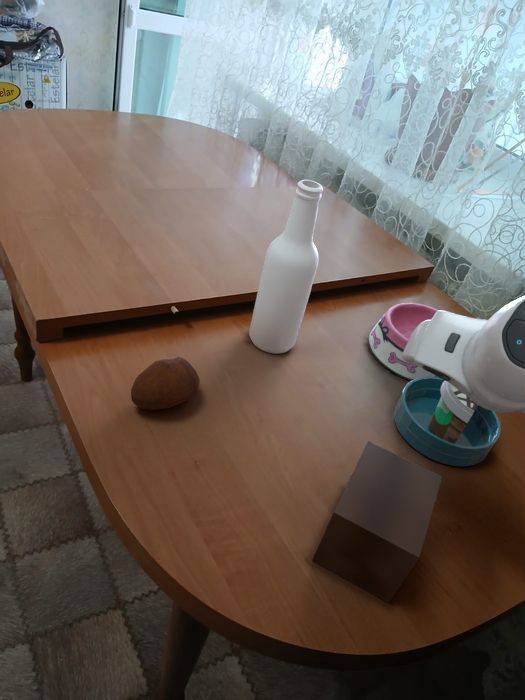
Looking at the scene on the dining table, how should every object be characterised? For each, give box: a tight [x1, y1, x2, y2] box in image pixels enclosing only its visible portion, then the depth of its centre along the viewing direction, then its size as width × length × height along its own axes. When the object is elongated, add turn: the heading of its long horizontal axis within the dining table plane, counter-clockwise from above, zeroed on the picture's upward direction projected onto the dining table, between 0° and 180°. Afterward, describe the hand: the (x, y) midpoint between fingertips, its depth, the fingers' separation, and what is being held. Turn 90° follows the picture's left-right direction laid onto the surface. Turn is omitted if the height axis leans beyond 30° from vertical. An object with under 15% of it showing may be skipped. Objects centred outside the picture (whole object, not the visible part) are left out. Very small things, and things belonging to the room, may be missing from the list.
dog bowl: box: [367, 302, 439, 382], centre depth 103 cm, size 18×19×7 cm
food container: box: [429, 381, 478, 444], centre depth 86 cm, size 12×6×10 cm, turn 144°
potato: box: [130, 356, 201, 411], centre depth 80 cm, size 8×12×8 cm, turn 138°
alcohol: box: [248, 179, 324, 354], centre depth 91 cm, size 9×9×30 cm
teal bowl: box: [393, 377, 502, 467], centre depth 88 cm, size 16×16×4 cm
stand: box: [312, 440, 443, 604], centre depth 67 cm, size 10×13×10 cm
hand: (477, 386), depth 69 cm, fingers open, 8 cm apart
